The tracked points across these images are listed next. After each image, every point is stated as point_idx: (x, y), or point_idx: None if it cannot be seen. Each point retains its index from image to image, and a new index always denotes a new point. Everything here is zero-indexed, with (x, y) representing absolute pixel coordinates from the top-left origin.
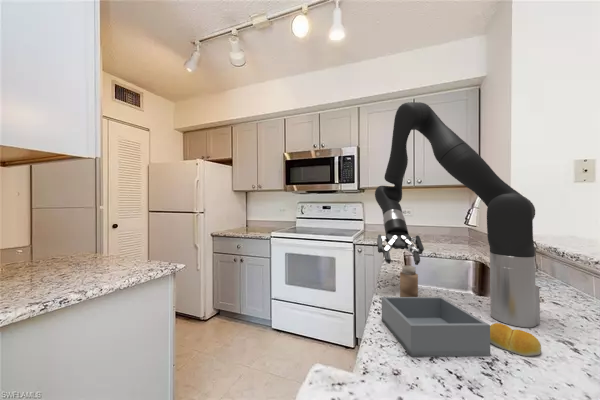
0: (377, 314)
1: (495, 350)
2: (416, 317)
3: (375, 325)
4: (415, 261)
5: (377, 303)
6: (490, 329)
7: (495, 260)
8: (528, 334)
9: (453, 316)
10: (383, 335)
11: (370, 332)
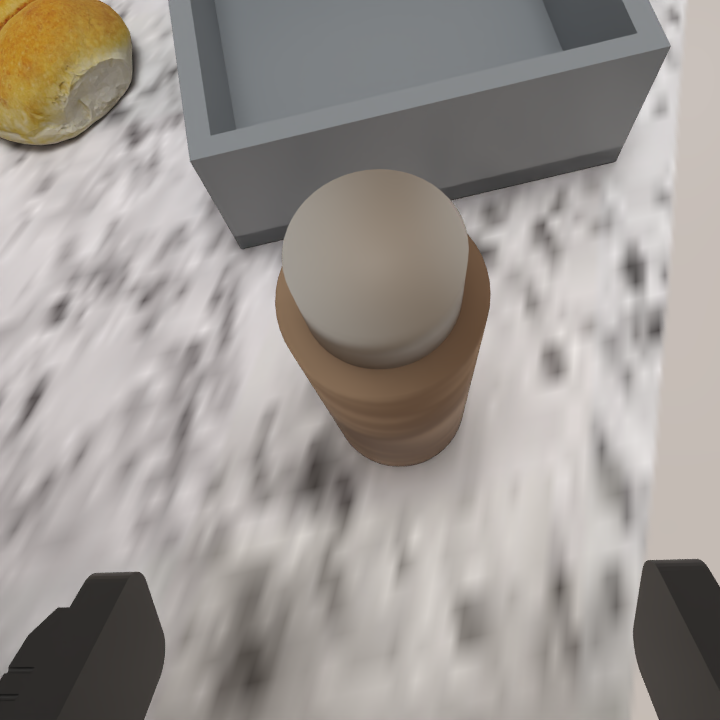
0: (641, 243)
1: (150, 18)
2: None
3: (652, 98)
4: (138, 654)
5: (643, 456)
6: (94, 33)
7: None
8: None
9: (216, 75)
10: None
11: (677, 23)
